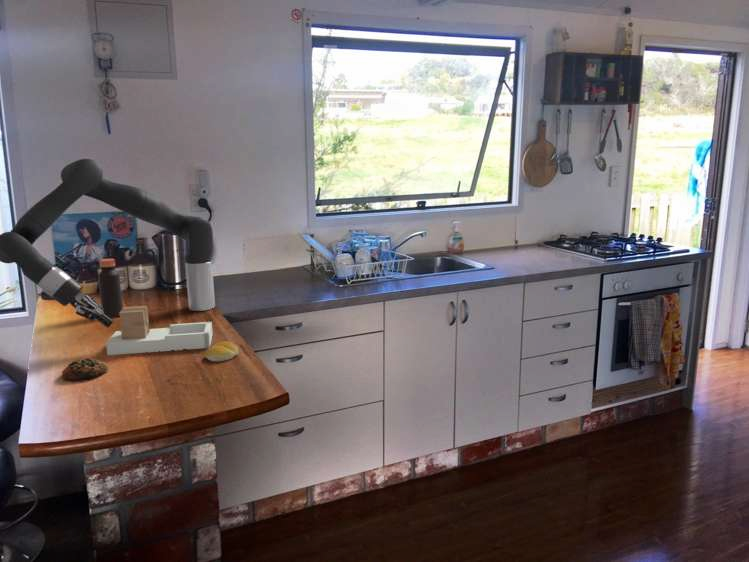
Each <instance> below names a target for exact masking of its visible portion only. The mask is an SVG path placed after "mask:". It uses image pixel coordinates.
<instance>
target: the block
mask: <svg viewBox="0 0 749 562" xmlns="http://www.w3.org/2000/svg"><path fill="white" fill-rule="evenodd" d="M119 316H120V317H119V322H120V331H121V334H122V340H125V339H139V338H146V337H147V335H148V333H149V332H150V330H149V329H150V322H149V313H148V305H140V306H139V305H137V306H123V309H122V310H121V311H120V312H119Z"/></svg>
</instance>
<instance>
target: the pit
mask: <svg viewBox="0 0 749 562" xmlns="http://www.w3.org/2000/svg"><path fill="white" fill-rule="evenodd" d="M212 324H213V322H212V321H204V322H202V321H201V322H191V323H190V322H188V323H175V324H171V323H170V325H169V328H170V331H171V335H165V344H166V351H165V352H170V351H171V350H174V351H184V350H183V349H187V350H196V349H197V350H199V349H200V350H201V349H208V348H209V347H211V343H212V340H213V337H212V336H213V335H214V334H213V325H212ZM171 352H172V351H171Z"/></svg>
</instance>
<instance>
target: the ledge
mask: <svg viewBox="0 0 749 562" xmlns="http://www.w3.org/2000/svg"><path fill="white" fill-rule="evenodd" d="M149 330H150V332H149V333H148V335H147V337H146V338H139V339H125V340H122V334H121V330H117V331H115V332H114V333H113V334H112V335H111V337H110V338H109V339H108V340H107V342H106V343H105V345H106V354H107V356H116V355H117V356H118V355H130V354H131V355H133V354H144V353H146V352H147V353H157V352H159V351H160V352H167V351H166V344H165V335H171V331H170V327H161V328H149ZM147 353H146V354H147Z"/></svg>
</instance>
